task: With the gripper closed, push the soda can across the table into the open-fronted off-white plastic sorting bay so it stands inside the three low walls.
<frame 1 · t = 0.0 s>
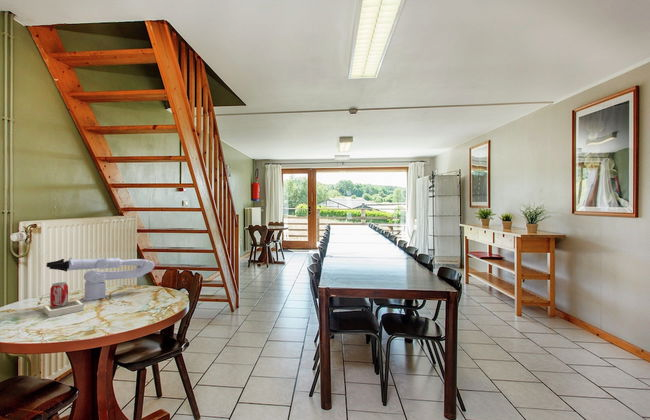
hand: (48, 265, 155), 22 cm above the table, tool horizontal, fingers open, 7 cm apart
sorting bay: (64, 310, 150), on the table
soda can: (59, 306, 157), on the table
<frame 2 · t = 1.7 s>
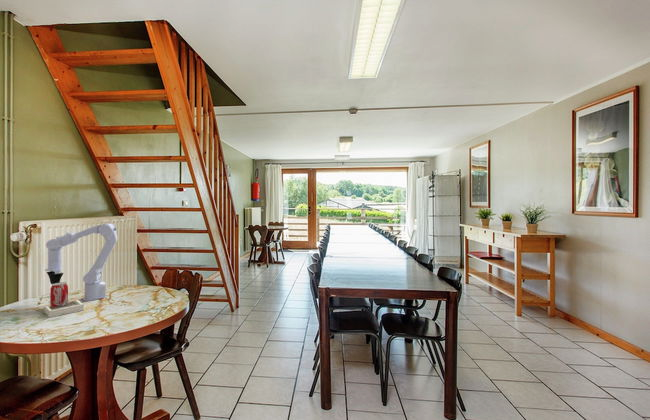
hand: (54, 284, 164), 9 cm above the table, tool pointing down, fingers open, 6 cm apart
nothing on the table moved.
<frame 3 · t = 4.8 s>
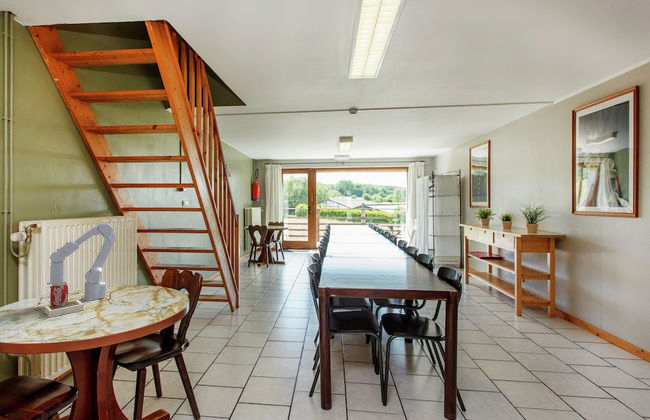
hand: (56, 298, 160), 3 cm above the table, tool pointing down, fingers closed
soda can: (59, 306, 157), on the table, touching gripper
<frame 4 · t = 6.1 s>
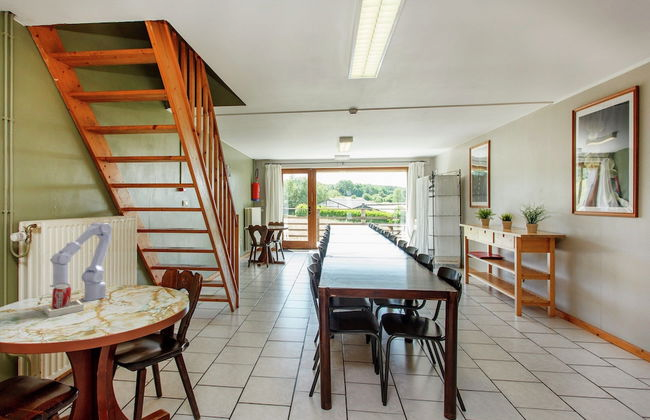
hand: (60, 301, 155), 3 cm above the table, tool pointing down, fingers closed, pressing on soda can
soda can: (60, 307, 153), point 1 cm above the table, touching gripper
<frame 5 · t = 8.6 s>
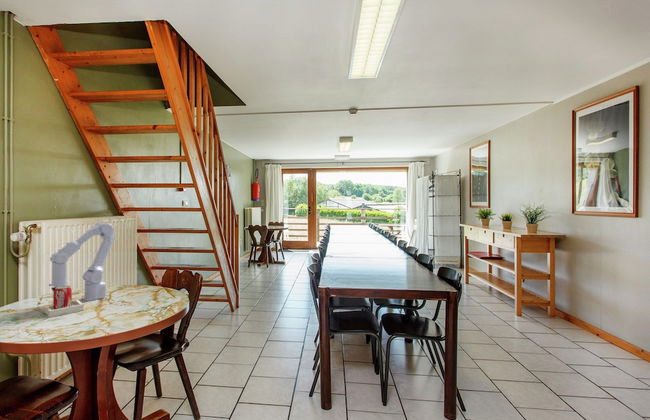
hand: (58, 300, 157), 3 cm above the table, tool pointing down, fingers closed
soda can: (62, 310, 150), on the table
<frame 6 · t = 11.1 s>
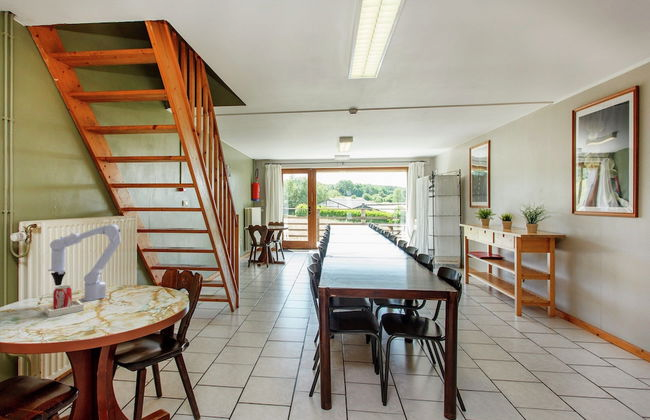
hand: (58, 285, 163), 9 cm above the table, tool pointing down, fingers closed
nothing on the table moved.
at the end: soda can 2.0 cm from the target spot, on the table; soda can tilted 0°; soda can moved 9.5 cm from its start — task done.
